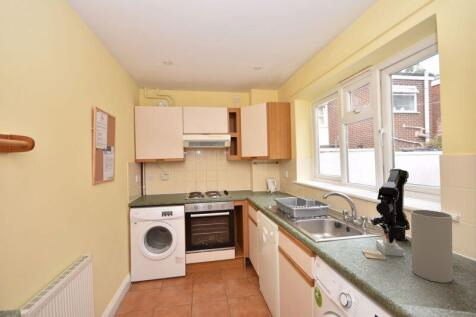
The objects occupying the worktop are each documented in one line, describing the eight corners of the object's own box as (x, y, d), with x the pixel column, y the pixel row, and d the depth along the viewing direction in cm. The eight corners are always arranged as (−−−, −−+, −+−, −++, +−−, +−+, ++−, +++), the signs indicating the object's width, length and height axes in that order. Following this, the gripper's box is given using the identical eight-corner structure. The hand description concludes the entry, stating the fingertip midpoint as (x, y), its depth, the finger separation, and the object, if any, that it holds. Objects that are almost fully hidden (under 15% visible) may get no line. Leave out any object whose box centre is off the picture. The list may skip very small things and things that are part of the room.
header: (376, 245, 122) (376, 239, 122) (393, 246, 120) (393, 240, 120) (384, 254, 111) (384, 248, 111) (403, 256, 109) (403, 249, 109)
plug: (383, 248, 118) (383, 233, 118) (391, 249, 117) (391, 233, 117) (386, 251, 114) (386, 235, 114) (395, 252, 113) (395, 236, 113)
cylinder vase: (442, 270, 95) (442, 210, 95) (460, 286, 84) (459, 218, 83) (407, 265, 100) (406, 209, 99) (419, 280, 88) (418, 216, 87)
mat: (362, 251, 115) (362, 250, 115) (379, 252, 113) (379, 251, 113) (366, 258, 107) (366, 257, 107) (385, 259, 105) (385, 258, 105)
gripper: (365, 206, 126) (366, 234, 127) (377, 214, 108) (377, 247, 108) (388, 207, 124) (388, 235, 124) (404, 216, 105) (404, 249, 106)
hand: (389, 241), depth 115 cm, fingers closed on plug, 4 cm apart
